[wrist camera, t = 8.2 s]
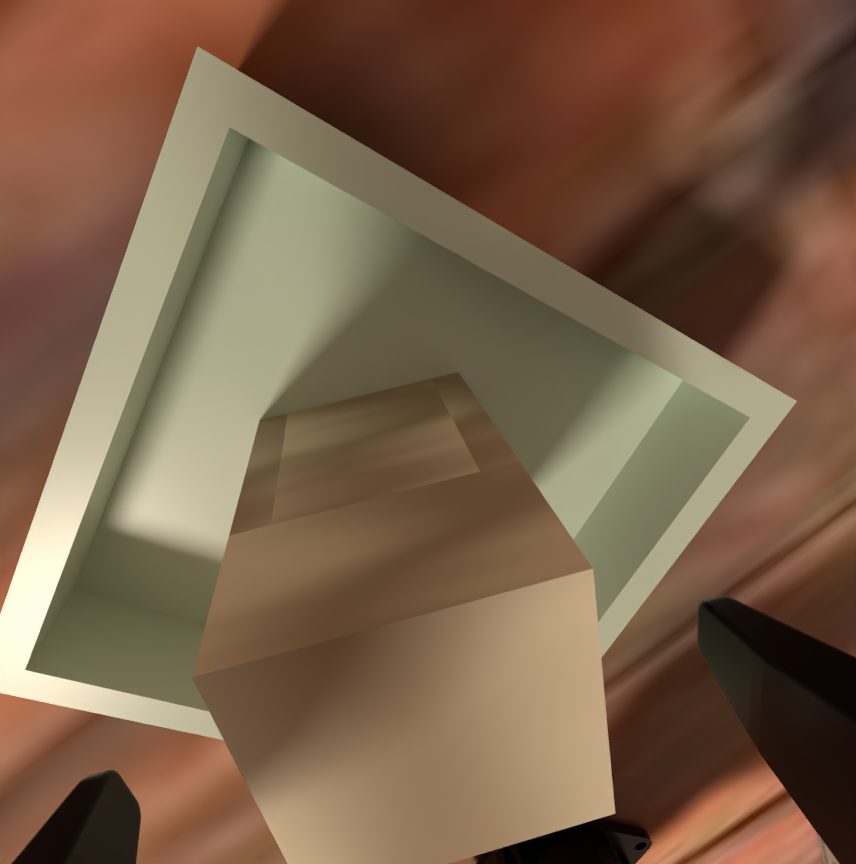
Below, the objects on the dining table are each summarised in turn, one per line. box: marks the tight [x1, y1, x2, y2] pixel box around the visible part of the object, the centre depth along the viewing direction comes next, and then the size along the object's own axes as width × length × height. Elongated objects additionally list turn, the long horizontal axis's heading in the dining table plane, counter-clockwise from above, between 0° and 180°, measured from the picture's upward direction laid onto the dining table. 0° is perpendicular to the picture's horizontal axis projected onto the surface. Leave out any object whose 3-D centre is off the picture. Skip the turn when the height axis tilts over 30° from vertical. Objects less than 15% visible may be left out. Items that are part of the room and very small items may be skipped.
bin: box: [0, 46, 797, 740], centre depth 14 cm, size 14×14×4 cm
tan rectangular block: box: [192, 372, 615, 864], centre depth 12 cm, size 5×5×8 cm
